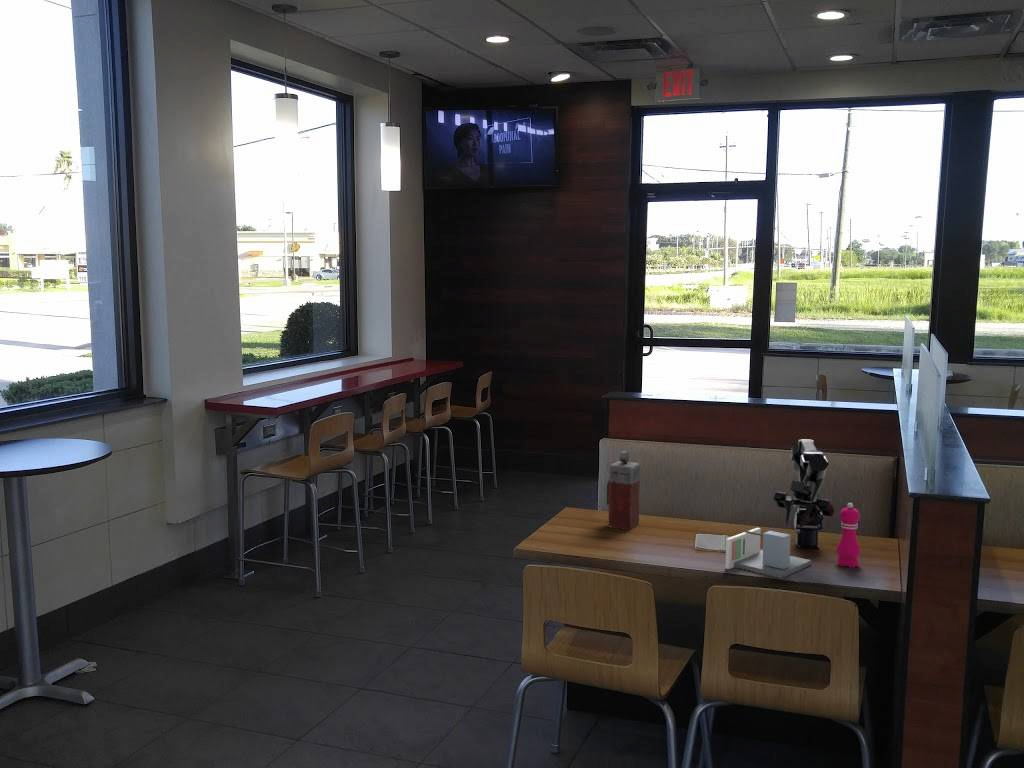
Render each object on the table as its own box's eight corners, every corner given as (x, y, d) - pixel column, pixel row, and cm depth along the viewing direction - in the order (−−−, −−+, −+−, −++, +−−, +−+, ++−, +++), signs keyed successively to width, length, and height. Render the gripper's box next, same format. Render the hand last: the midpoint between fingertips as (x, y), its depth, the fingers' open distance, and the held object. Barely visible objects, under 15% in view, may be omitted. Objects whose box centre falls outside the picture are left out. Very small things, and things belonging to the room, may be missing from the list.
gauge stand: (761, 553, 297) (762, 525, 296) (810, 564, 285) (812, 535, 284) (725, 568, 281) (726, 538, 280) (775, 580, 269) (776, 549, 268)
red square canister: (610, 521, 340) (611, 447, 337) (639, 524, 335) (640, 450, 332) (602, 526, 332) (603, 451, 329) (631, 529, 327) (632, 454, 324)
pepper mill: (832, 561, 289) (834, 500, 287) (855, 561, 289) (857, 500, 287) (840, 567, 282) (842, 505, 280) (863, 568, 281) (865, 505, 279)
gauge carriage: (748, 556, 287) (749, 525, 287) (790, 566, 277) (791, 534, 276) (741, 559, 284) (741, 528, 283) (783, 569, 274) (784, 537, 273)
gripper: (776, 467, 293) (758, 505, 286) (831, 475, 280) (813, 515, 273) (787, 487, 299) (769, 525, 293) (841, 495, 286) (824, 536, 279)
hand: (793, 525), depth 284 cm, fingers open, 4 cm apart
